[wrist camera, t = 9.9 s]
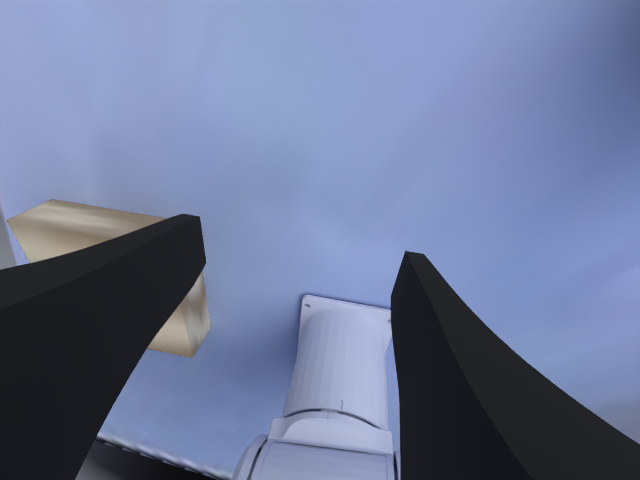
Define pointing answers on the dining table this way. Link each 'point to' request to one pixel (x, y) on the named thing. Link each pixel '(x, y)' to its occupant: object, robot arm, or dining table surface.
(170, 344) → the birch base block
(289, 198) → the dining table surface
